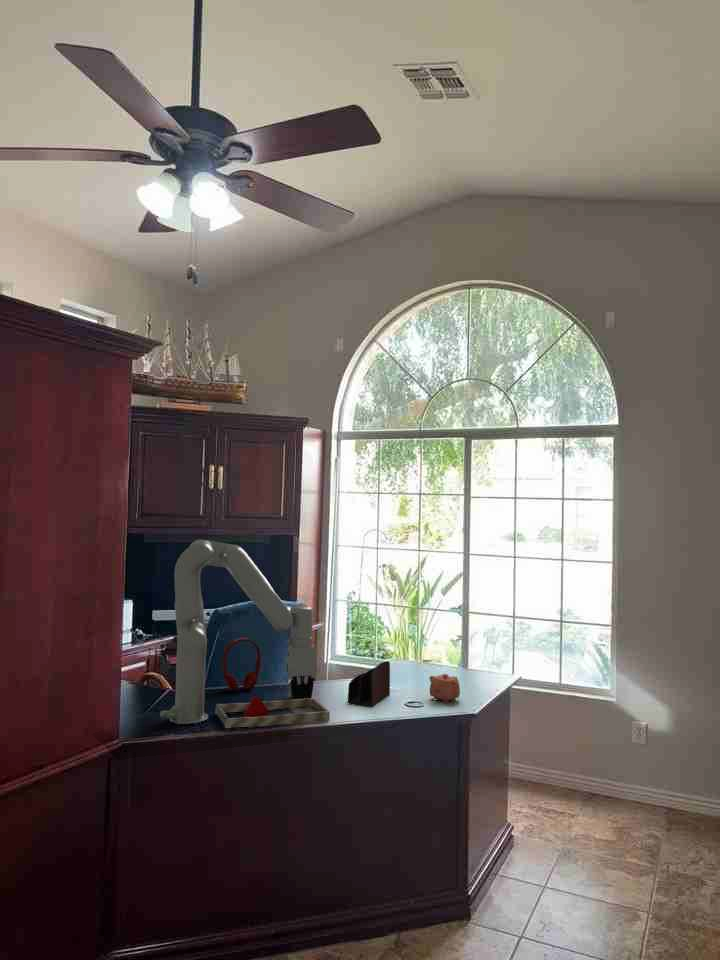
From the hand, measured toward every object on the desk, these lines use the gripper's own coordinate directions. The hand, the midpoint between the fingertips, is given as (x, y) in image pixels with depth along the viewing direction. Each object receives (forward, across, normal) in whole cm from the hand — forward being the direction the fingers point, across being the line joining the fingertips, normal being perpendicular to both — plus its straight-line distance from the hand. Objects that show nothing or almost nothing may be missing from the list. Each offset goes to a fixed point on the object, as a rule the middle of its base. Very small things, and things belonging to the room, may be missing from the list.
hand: (301, 694), depth 259 cm
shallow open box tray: (+7, -10, +1) cm, 12 cm away
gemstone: (+7, -17, -2) cm, 18 cm away
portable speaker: (+7, +7, +21) cm, 23 cm away
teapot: (+9, +58, +5) cm, 59 cm away
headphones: (+7, -13, +38) cm, 41 cm away
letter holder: (+8, +31, +13) cm, 35 cm away
